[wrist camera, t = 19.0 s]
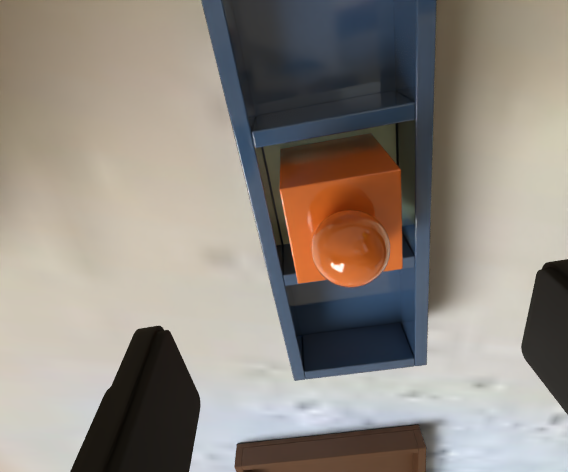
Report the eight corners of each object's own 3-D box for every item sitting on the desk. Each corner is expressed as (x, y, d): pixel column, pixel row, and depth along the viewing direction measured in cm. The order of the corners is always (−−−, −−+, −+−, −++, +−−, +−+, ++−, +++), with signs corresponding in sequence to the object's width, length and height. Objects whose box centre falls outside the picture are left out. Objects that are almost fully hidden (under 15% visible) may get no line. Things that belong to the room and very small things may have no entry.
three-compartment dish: (292, 337, 25) (294, 381, 22) (199, -73, 14) (176, -99, 11) (409, 322, 24) (427, 365, 21) (406, -121, 13) (441, -163, 10)
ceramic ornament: (294, 227, 20) (300, 328, 13) (280, 148, 18) (278, 223, 11) (376, 214, 19) (424, 312, 13) (371, 132, 17) (426, 199, 11)
